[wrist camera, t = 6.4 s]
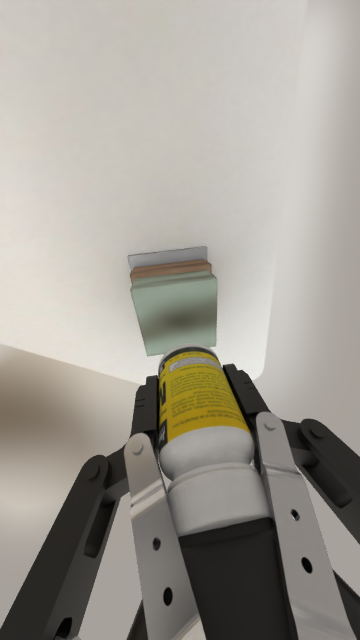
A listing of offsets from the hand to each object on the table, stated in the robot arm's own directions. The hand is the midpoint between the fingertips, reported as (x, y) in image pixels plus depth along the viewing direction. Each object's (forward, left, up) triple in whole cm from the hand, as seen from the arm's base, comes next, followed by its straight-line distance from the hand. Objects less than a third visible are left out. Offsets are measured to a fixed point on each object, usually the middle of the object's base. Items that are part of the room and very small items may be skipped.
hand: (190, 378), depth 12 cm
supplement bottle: (0, 0, -2) cm, 2 cm away
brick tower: (0, 0, -17) cm, 17 cm away
